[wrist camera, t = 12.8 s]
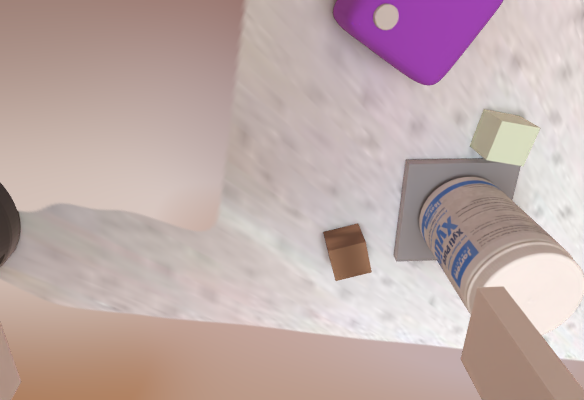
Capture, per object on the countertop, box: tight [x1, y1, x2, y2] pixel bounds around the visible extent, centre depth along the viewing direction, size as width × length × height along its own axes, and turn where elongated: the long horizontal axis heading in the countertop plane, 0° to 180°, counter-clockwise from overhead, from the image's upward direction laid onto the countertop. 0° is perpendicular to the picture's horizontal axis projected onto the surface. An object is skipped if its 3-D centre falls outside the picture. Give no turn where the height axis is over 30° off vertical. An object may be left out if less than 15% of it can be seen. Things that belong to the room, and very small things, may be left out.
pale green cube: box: [470, 109, 540, 166], centre depth 47 cm, size 4×4×4 cm
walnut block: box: [323, 224, 371, 281], centre depth 52 cm, size 4×4×4 cm
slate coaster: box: [394, 158, 521, 261], centre depth 52 cm, size 12×12×1 cm
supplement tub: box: [419, 177, 584, 335], centre depth 45 cm, size 10×10×15 cm
